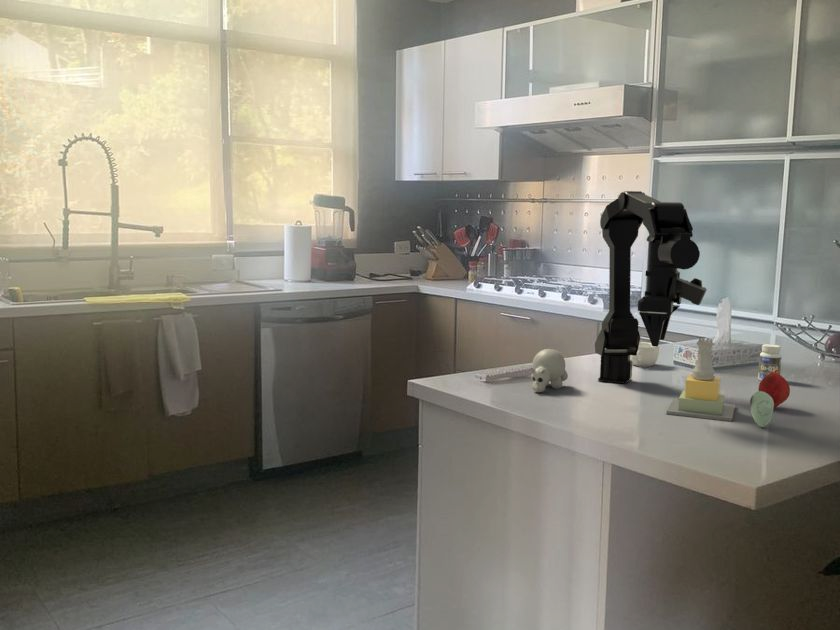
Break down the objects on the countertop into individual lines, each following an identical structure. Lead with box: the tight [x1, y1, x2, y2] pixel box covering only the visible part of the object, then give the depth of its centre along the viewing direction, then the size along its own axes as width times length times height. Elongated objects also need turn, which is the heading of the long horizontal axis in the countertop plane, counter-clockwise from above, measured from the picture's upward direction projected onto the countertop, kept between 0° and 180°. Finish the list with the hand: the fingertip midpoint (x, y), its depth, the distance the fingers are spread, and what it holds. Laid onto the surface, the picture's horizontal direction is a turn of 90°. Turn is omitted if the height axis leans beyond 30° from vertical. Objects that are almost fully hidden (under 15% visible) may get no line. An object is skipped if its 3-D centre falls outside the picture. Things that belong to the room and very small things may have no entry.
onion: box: [757, 369, 791, 409], centre depth 163 cm, size 6×6×8 cm
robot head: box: [749, 390, 775, 428], centre depth 149 cm, size 8×4×7 cm, turn 157°
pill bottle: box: [757, 343, 782, 382], centre depth 190 cm, size 5×5×8 cm
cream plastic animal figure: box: [530, 348, 569, 394], centre depth 178 cm, size 7×12×8 cm, turn 146°
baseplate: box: [666, 389, 736, 422], centre depth 160 cm, size 12×12×3 cm
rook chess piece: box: [691, 337, 716, 381], centre depth 159 cm, size 4×4×8 cm
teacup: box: [630, 341, 660, 368], centre depth 206 cm, size 10×8×5 cm
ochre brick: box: [684, 374, 721, 401], centre depth 160 cm, size 6×6×4 cm
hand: (658, 342), depth 162 cm, fingers open, 9 cm apart
